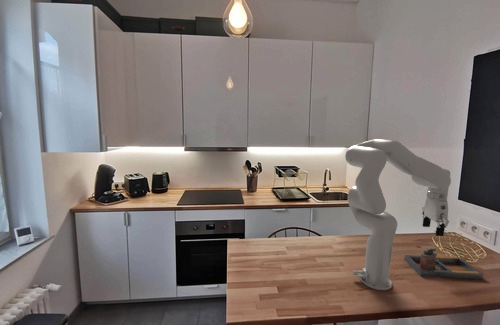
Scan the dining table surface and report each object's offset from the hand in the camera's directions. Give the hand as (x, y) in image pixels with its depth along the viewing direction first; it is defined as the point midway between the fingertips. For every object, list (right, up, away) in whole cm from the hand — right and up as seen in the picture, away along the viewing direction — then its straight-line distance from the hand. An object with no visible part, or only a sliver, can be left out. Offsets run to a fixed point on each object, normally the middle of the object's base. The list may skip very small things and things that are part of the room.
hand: (432, 231), depth 120 cm
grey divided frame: (+6, -19, +3) cm, 20 cm away
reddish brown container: (-1, -19, +3) cm, 19 cm away
